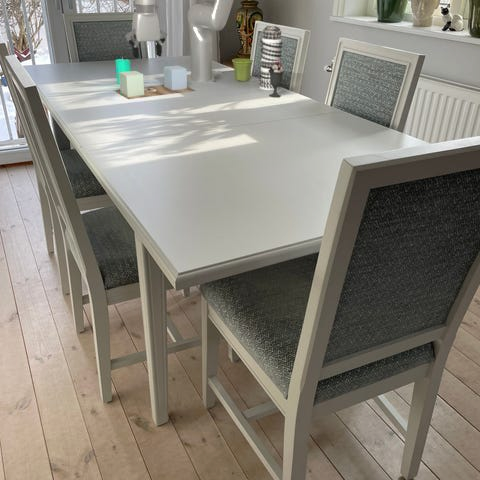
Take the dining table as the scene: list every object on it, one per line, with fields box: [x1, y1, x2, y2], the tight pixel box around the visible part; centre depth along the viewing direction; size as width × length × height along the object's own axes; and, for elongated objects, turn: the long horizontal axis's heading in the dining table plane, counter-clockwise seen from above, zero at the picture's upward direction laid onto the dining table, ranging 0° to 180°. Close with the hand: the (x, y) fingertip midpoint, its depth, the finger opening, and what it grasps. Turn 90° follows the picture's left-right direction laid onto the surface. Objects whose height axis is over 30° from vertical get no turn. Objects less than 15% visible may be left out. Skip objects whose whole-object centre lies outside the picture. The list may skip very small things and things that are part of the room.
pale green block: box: [119, 70, 145, 97], centre depth 201 cm, size 7×7×8 cm
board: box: [113, 84, 197, 100], centre depth 210 cm, size 30×15×2 cm, turn 124°
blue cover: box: [163, 65, 188, 90], centre depth 213 cm, size 7×7×8 cm
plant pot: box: [231, 58, 254, 82], centre depth 234 cm, size 9×9×9 cm
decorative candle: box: [258, 25, 283, 91], centre depth 218 cm, size 9×9×25 cm
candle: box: [115, 56, 132, 86], centre depth 216 cm, size 6×6×12 cm
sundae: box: [268, 57, 285, 98], centre depth 209 cm, size 7×7×15 cm
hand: (147, 56), depth 203 cm, fingers open, 9 cm apart
